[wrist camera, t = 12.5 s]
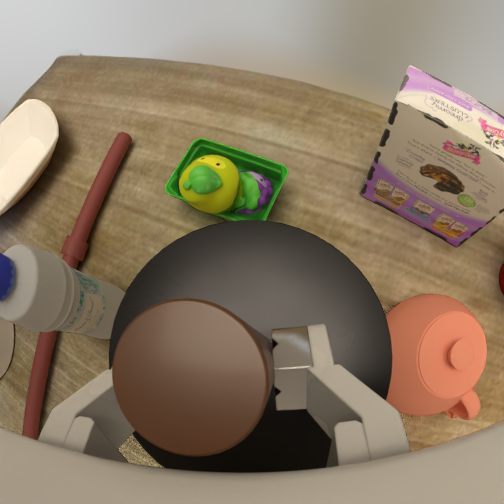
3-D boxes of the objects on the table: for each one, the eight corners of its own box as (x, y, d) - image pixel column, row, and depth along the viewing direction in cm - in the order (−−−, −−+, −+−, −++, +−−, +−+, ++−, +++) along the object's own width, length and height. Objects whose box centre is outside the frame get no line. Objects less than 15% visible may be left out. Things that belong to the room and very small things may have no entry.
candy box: (466, 210, 34) (538, 138, 18) (456, 249, 32) (538, 186, 17) (373, 159, 37) (409, 60, 21) (357, 195, 36) (394, 97, 20)
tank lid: (139, 484, 12) (23, 564, 3) (116, 249, 16) (-7, 160, 7) (395, 462, 11) (499, 553, 3) (356, 212, 15) (416, 70, 6)
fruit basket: (291, 189, 37) (291, 128, 26) (258, 257, 35) (246, 214, 24) (206, 159, 39) (181, 99, 28) (171, 219, 37) (130, 171, 26)
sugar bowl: (433, 279, 32) (479, 252, 22) (481, 381, 27) (536, 384, 18) (343, 336, 31) (367, 329, 22) (397, 444, 27) (436, 473, 17)
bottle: (117, 354, 33) (-21, 341, 14) (82, 317, 35) (-50, 279, 16) (149, 308, 34) (23, 257, 15) (111, 274, 36) (-11, 206, 17)
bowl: (-23, 185, 45) (-39, 173, 40) (46, 104, 48) (33, 88, 43) (2, 253, 39) (-21, 242, 34) (88, 150, 42) (71, 131, 37)
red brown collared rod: (121, 141, 42) (112, 129, 39) (138, 143, 41) (129, 130, 38) (28, 438, 30) (14, 441, 27) (43, 449, 30) (29, 453, 27)
